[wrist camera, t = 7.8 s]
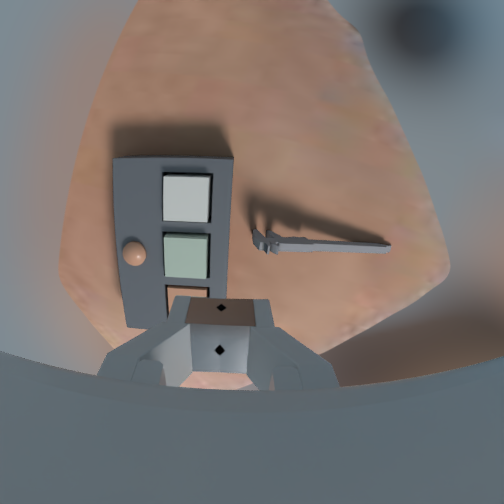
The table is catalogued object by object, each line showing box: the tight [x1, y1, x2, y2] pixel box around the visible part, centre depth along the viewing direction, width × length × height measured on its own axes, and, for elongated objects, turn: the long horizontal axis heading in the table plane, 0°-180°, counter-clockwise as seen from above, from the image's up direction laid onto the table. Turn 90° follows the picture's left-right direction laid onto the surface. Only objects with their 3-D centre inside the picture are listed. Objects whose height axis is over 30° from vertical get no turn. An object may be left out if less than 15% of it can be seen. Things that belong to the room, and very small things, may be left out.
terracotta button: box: [167, 285, 208, 313], centre depth 40 cm, size 5×5×3 cm
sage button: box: [164, 232, 209, 279], centre depth 36 cm, size 5×5×3 cm
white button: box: [163, 173, 211, 222], centre depth 34 cm, size 5×5×3 cm
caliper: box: [252, 229, 391, 255], centre depth 38 cm, size 20×1×6 cm, turn 83°
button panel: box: [113, 155, 234, 330], centre depth 37 cm, size 23×14×5 cm, turn 176°
